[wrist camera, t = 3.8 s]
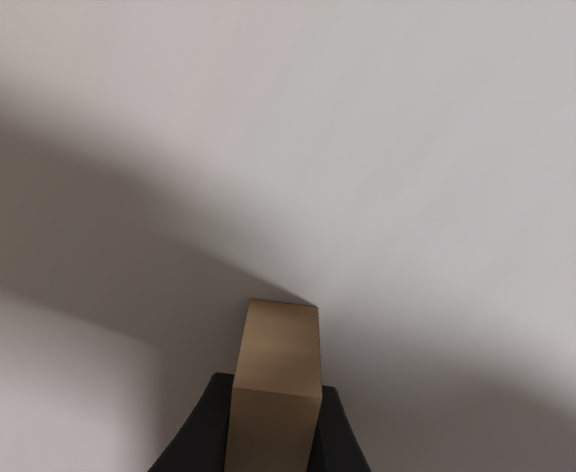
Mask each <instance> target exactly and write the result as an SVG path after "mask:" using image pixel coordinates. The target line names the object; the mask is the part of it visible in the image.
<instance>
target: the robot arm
mask: <svg viewBox="0 0 576 472" xmlns="http://www.w3.org/2000/svg"><path fill="white" fill-rule="evenodd" d="M234 377H235V375H233V374H225V373H215V374H213V375H212V377H211V379H210V382H209V384H208V386H207V388H206V389H205V391H204V393H203V395H202V397H201V398H200V400H199V402H198V403H197V405H196V406H195V408H194V410H193V411H192V413H191V414H190V416H189V417H188V419H187V420H186V422H185V423H184V425H183V426H182V427H181V429H180V430H179V432H178V433H177V435H176V436H175V437H174V439H173V440H172V441H171V443H170V444H169V445H168V447H167V448H166V449H165V450H164V452H163V453H162V454H161V456H160V457H159V458H158V459H157V461H156V462H155V463H154V464H153V466H152V467H151V468H150V469H149V470H148V472H224V466H225V456H226V446H227V436H228V427H229V417H230V407H231V397H232V387H233V382H234ZM306 472H372V471H371V469H370V468H369V466H368V464H367V462H366V460H365V457H364V455H363V453H362V451H361V449H360V447H359V445H358V443H357V441H356V438H355V436H354V434H353V432H352V429H351V427H350V424H349V422H348V419H347V417H346V414H345V412H344V409H343V406H342V404H341V401H340V398H339V395H338V392H337V390H336V389H335V388H334V387H329V386H322V402H321V406H320V411H319V415H318V420H317V424H316V429H315V433H314V438H313V442H312V447H311V451H310V456H309V460H308V465H307V469H306Z"/></svg>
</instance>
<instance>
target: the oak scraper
mask: <svg viewBox="0 0 576 472" xmlns="http://www.w3.org/2000/svg"><path fill="white" fill-rule="evenodd" d="M321 402H322V382H321V360H320V339H319V317H318V308H317V307H309V306H302V305H294V304H286V303H279V302H271V301H263V300H255V299H250V302H249V307H248V312H247V317H246V322H245V327H244V332H243V337H242V342H241V347H240V352H239V357H238V362H237V367H236V372H235V377H234V382H233V387H232V397H231V407H230V417H229V427H228V436H227V446H226V456H225V466H224V472H306V469H307V465H308V460H309V456H310V451H311V447H312V442H313V438H314V433H315V429H316V424H317V420H318V415H319V411H320V406H321Z"/></svg>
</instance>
